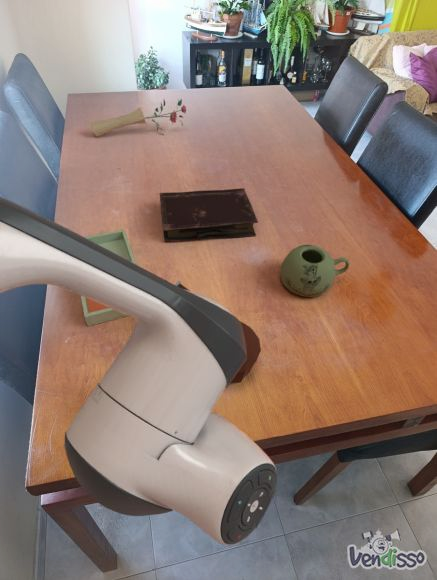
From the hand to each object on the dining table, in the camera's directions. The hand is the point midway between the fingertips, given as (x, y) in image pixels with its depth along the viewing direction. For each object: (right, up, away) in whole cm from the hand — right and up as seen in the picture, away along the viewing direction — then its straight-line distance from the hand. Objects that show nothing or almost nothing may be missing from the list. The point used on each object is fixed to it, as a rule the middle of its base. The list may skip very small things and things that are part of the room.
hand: (121, 385), depth 54 cm
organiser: (-12, +17, +35) cm, 41 cm away
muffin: (+16, -1, +20) cm, 26 cm away
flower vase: (-15, +74, +89) cm, 116 cm away
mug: (+37, +16, +37) cm, 55 cm away
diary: (+11, +33, +52) cm, 63 cm away
